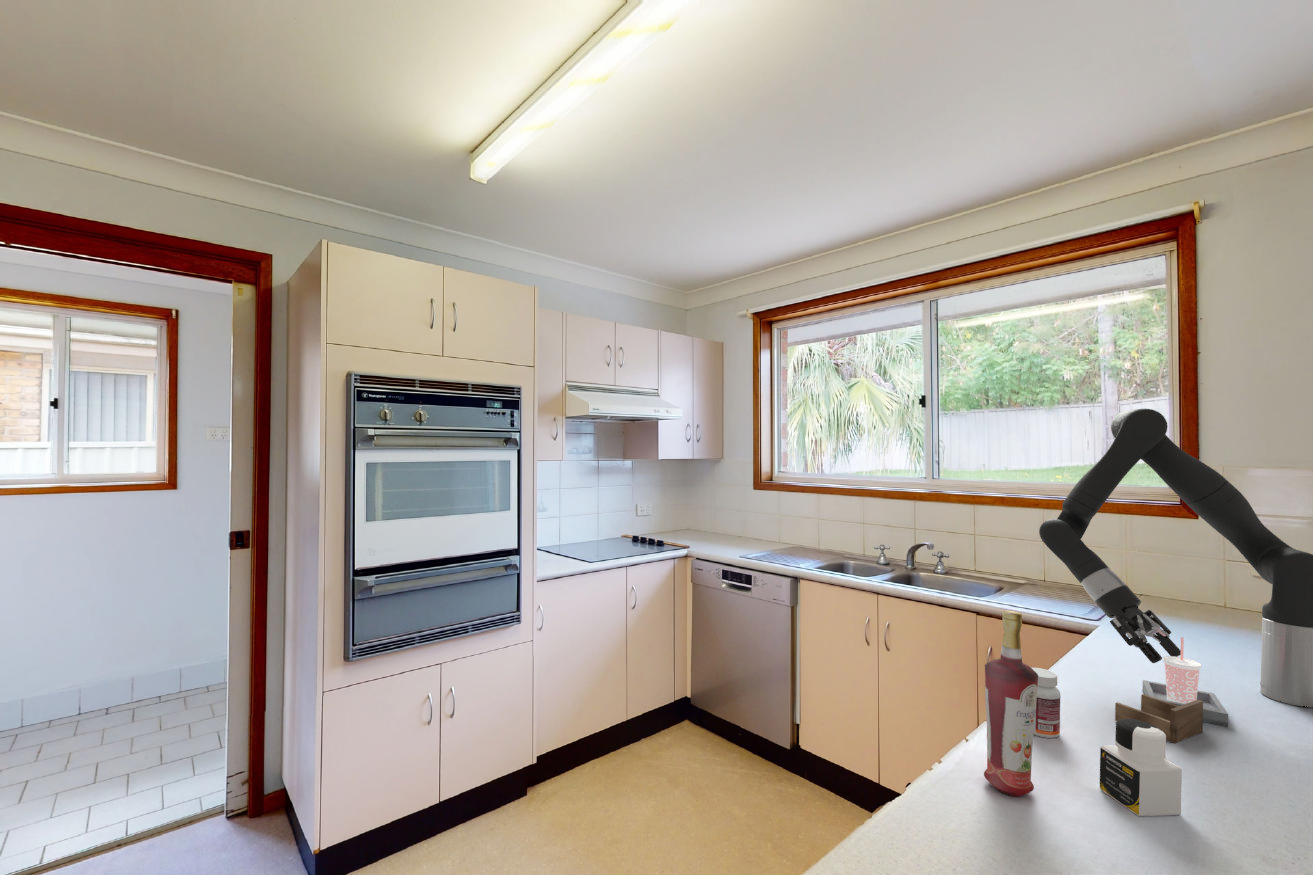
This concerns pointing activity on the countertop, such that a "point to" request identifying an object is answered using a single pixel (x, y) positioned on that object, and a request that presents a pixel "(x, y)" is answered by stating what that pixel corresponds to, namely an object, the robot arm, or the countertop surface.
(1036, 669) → the pill bottle
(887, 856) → the countertop surface
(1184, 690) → the beverage cup
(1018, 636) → the liquor
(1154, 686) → the grey tray
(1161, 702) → the walnut bay
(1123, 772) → the medicine bottle
